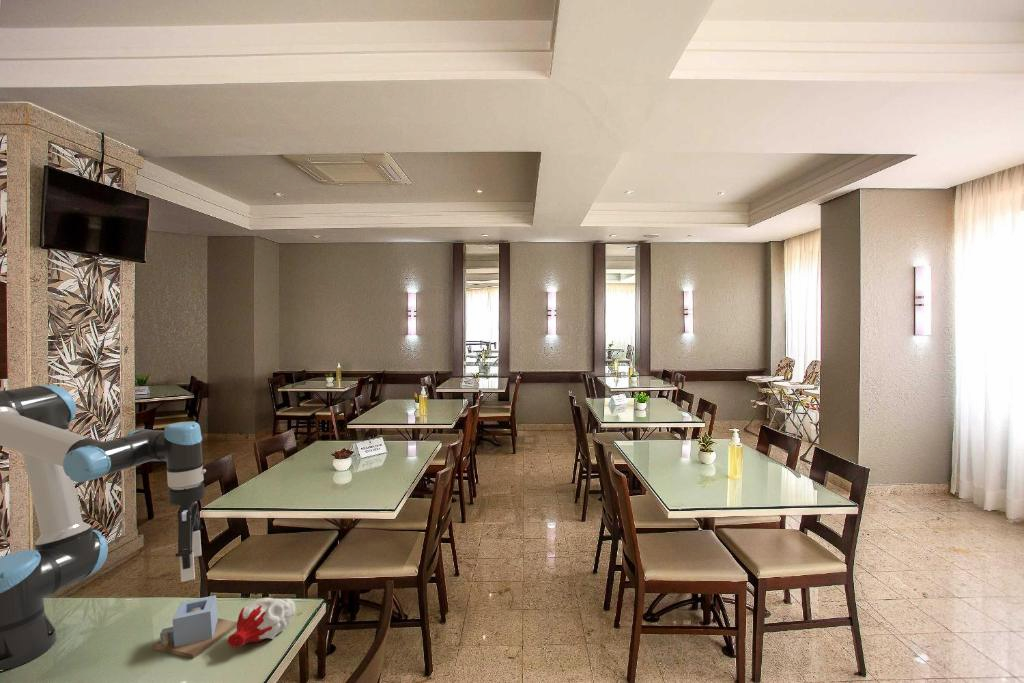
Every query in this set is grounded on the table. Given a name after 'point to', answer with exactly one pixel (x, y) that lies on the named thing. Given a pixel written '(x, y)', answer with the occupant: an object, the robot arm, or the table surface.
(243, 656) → the table surface
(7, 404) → the robot arm
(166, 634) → the dowel
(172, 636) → the square nut with handle
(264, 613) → the candle
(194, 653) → the post base
